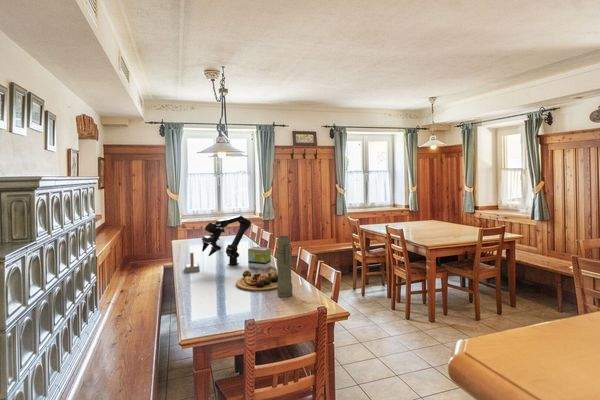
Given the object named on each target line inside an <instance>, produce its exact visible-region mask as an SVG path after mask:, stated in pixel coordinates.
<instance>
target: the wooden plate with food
mask: <svg viewBox="0 0 600 400" xmlns="http://www.w3.org/2000/svg"><path fill="white" fill-rule="evenodd" d="M241 276H242V277H241V278H239V279H238V280H236V282H235V286H236V288H237V289H239V290H242V291H246V292H254V291H259V292H267V291H268V292H269V291H274V290H277V284H278V272H276V271H275V270H274V269H270V270H269V271H268V272H267V274H265V273H261V272H257V273H256V272H254V273H253V274H252V272H251V271H250V270H248V269H245V270H244V271H243V272H242V275H241Z"/></svg>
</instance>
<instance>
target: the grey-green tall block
mask: <svg viewBox="0 0 600 400" xmlns="http://www.w3.org/2000/svg"><path fill="white" fill-rule="evenodd" d="M276 244H277V255H276V267H277V275H278V284H277V289H276V291H277V297H278V298H282V299H285V298H286V299H288V298H291V297H293V289H294V288H293V282H292V267H293V257H292V254H291V249H292V247H291V238H290V236H288V235H279V236H278V238H277V243H276Z"/></svg>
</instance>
